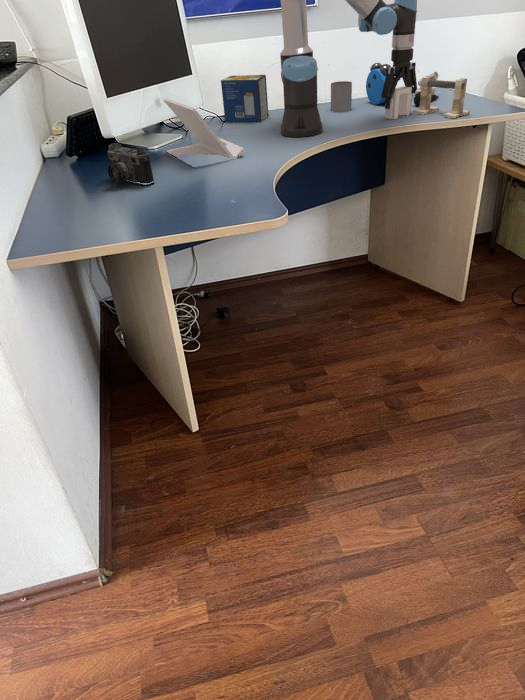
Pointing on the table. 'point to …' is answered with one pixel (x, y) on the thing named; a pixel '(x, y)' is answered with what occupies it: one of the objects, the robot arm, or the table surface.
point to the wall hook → (435, 77)
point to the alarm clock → (376, 82)
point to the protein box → (245, 98)
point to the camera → (129, 164)
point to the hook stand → (429, 83)
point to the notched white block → (401, 101)
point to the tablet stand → (200, 134)
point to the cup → (341, 96)
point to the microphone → (417, 98)
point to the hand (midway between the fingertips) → (397, 115)
